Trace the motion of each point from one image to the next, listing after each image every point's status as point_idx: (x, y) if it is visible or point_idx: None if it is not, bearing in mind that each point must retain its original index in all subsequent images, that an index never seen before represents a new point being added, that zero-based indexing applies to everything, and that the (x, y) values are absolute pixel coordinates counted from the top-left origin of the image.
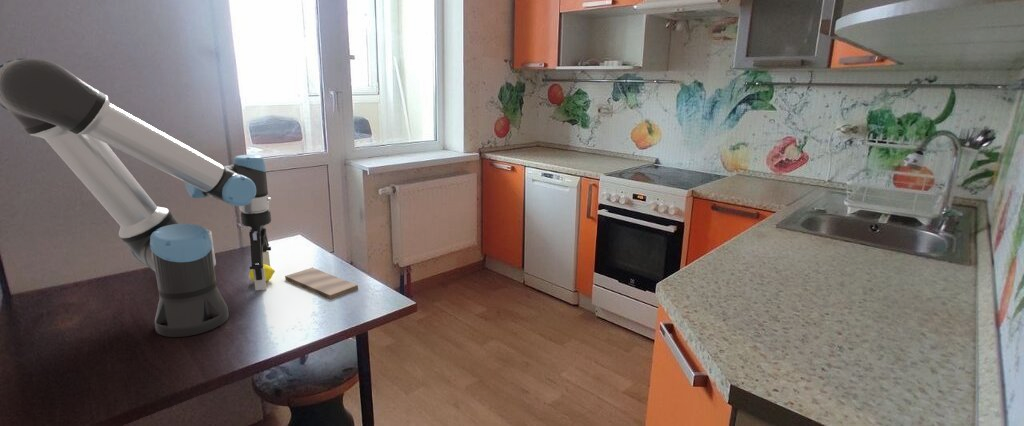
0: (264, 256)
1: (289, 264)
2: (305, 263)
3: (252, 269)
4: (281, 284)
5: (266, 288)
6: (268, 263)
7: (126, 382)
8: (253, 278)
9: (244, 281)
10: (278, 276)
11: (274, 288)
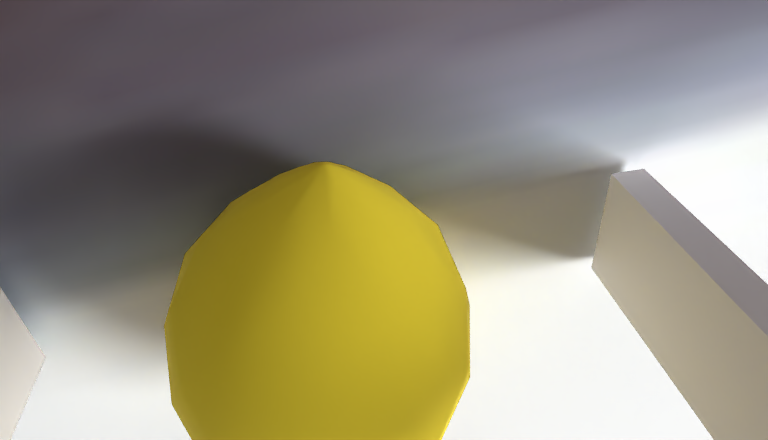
0: (759, 426)
1: None
2: (700, 434)
3: (263, 335)
4: None
5: (42, 358)
6: (662, 348)
7: None
8: (190, 251)
9: (375, 10)
10: None
11: (85, 401)
